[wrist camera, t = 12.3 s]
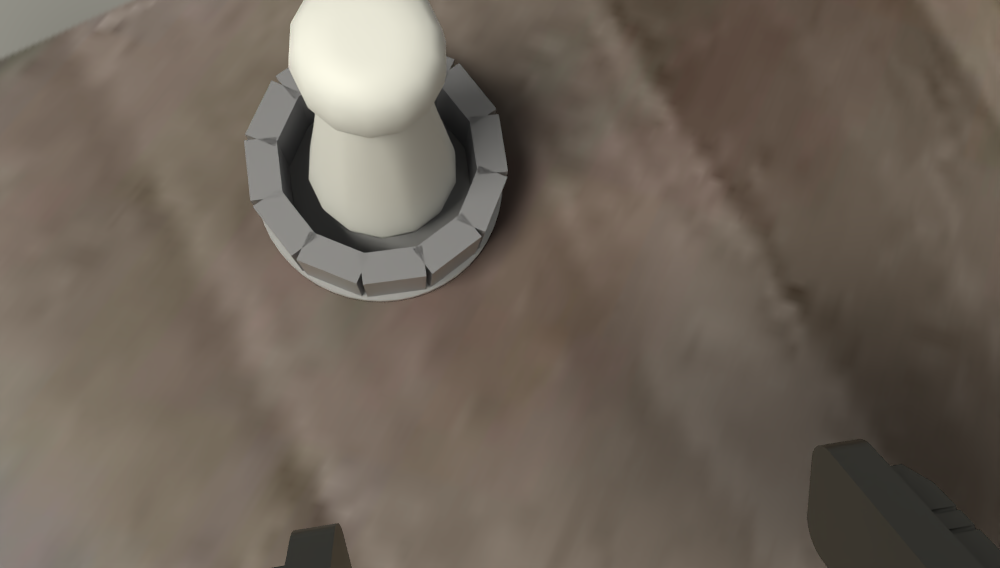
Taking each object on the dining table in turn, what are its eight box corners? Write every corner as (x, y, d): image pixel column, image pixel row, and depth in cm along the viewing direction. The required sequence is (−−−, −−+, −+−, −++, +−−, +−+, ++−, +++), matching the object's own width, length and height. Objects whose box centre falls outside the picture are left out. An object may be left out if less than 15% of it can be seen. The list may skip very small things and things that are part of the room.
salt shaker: (356, 97, 33) (319, -107, 20) (475, 155, 33) (513, -11, 20) (292, 214, 32) (209, 75, 19) (415, 273, 32) (416, 176, 19)
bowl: (482, 61, 34) (489, 21, 31) (518, 284, 33) (530, 268, 29) (246, 83, 33) (227, 44, 29) (271, 317, 31) (254, 305, 28)
